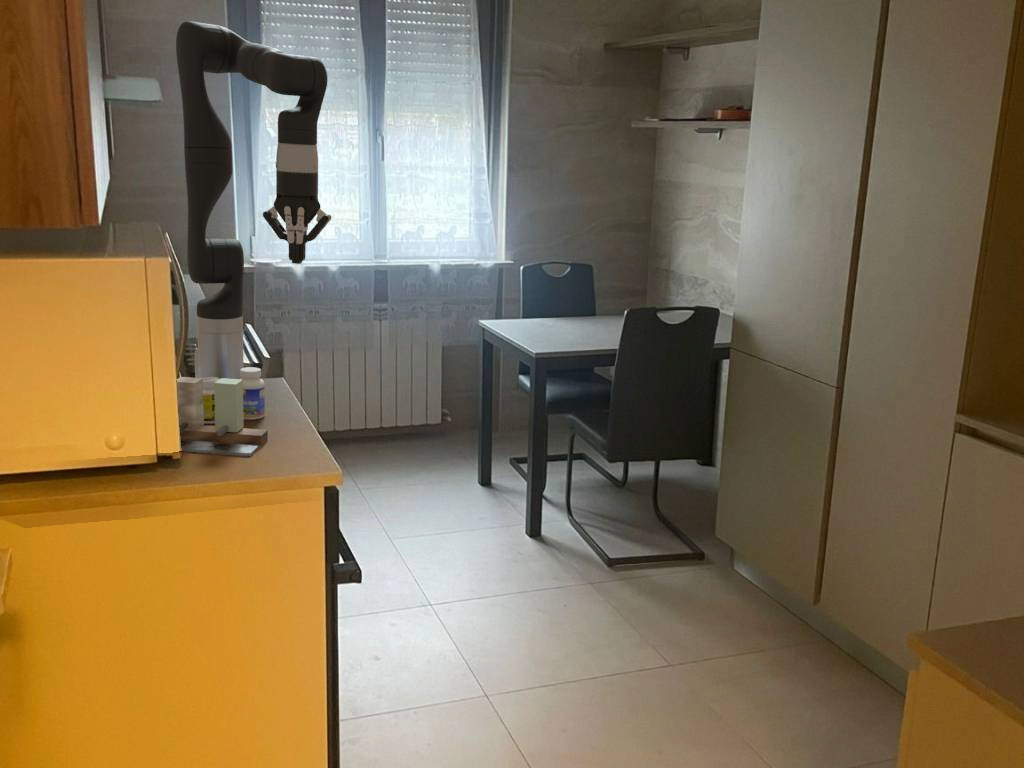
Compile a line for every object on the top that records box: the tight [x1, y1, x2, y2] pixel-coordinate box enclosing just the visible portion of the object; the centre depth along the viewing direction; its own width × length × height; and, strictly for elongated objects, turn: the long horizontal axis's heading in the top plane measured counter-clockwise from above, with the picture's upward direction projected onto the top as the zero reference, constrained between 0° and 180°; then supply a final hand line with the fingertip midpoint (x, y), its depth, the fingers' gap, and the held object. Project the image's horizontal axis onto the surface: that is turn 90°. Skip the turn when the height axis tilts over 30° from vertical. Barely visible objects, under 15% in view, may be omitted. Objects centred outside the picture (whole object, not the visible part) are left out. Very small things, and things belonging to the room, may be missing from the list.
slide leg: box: [214, 378, 245, 436], centre depth 173 cm, size 4×7×9 cm, turn 176°
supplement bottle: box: [203, 377, 219, 425], centre depth 187 cm, size 5×5×8 cm
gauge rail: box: [176, 376, 268, 447], centre depth 174 cm, size 16×7×11 cm, turn 86°
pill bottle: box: [240, 366, 266, 421], centre depth 191 cm, size 5×5×10 cm
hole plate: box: [181, 439, 261, 458], centre depth 171 cm, size 16×5×1 cm, turn 86°
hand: (296, 262), depth 181 cm, fingers closed
